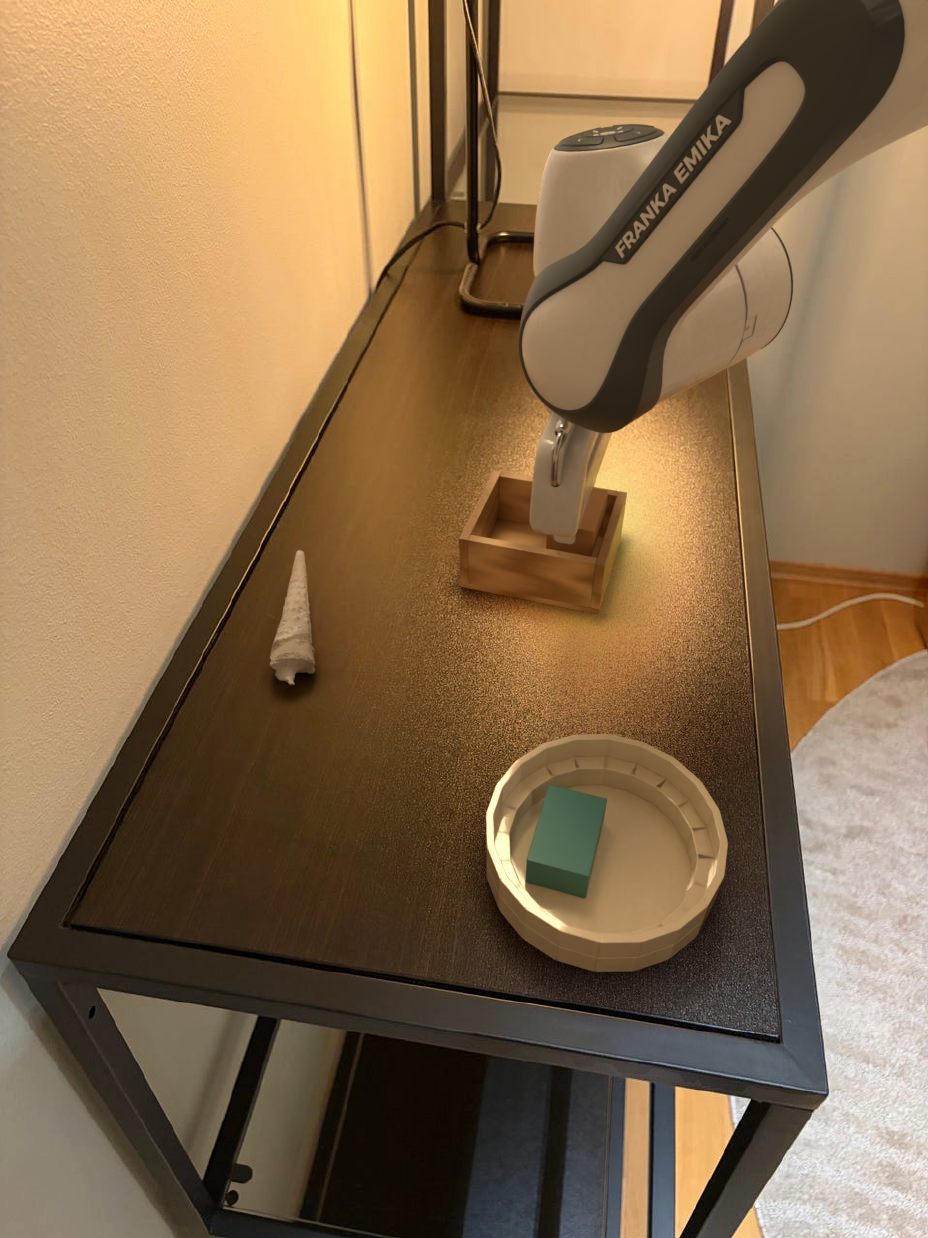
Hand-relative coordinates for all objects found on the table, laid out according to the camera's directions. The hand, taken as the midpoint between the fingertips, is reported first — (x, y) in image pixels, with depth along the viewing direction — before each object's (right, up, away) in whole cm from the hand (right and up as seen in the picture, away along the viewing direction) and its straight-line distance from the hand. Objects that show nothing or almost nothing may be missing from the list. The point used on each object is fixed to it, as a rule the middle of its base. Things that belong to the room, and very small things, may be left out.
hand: (575, 512), depth 75 cm
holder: (-2, -4, +5) cm, 7 cm away
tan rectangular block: (0, -2, +1) cm, 2 cm away
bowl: (-1, -26, -17) cm, 31 cm away
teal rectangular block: (-3, -25, -17) cm, 30 cm away
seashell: (-23, -11, -1) cm, 26 cm away
